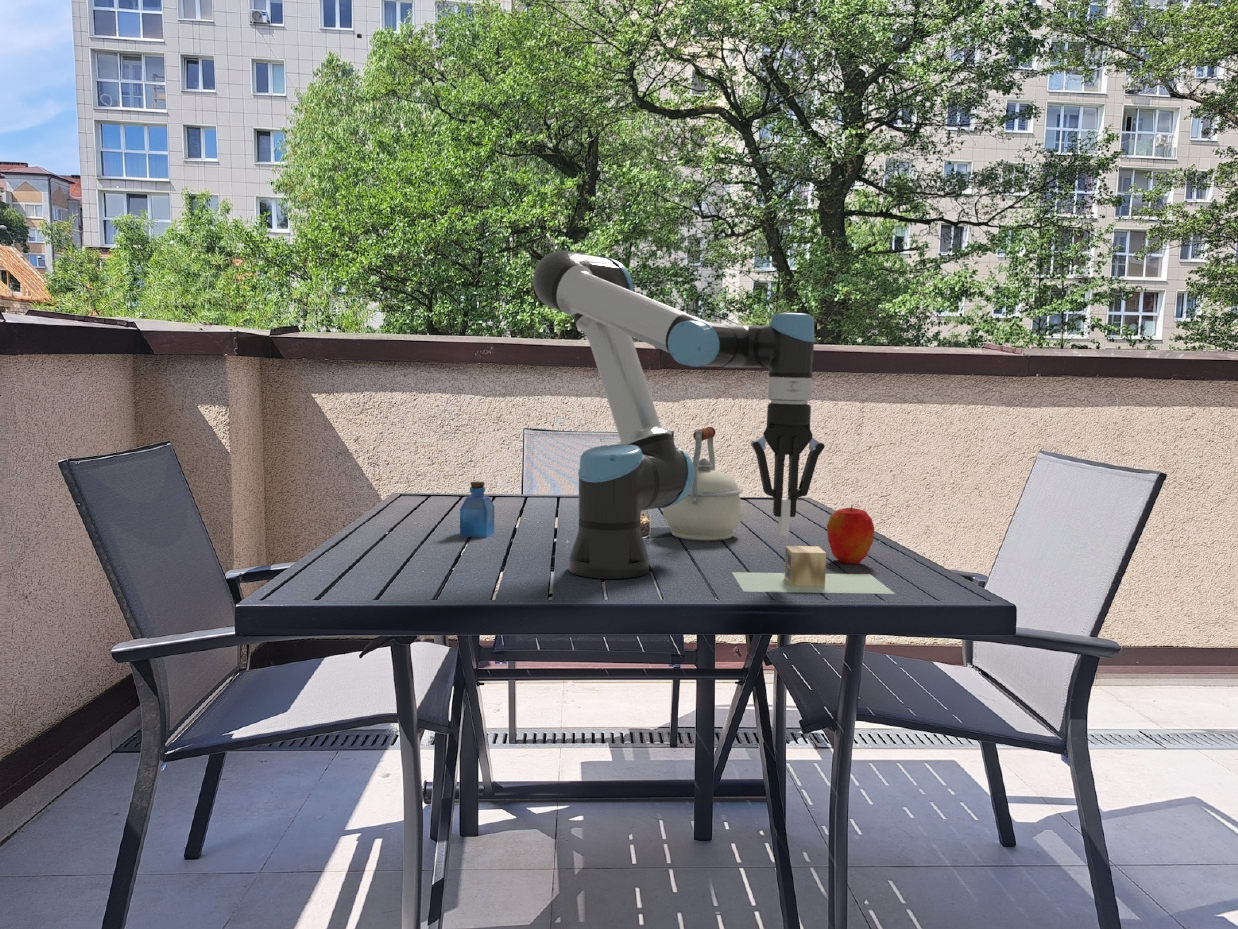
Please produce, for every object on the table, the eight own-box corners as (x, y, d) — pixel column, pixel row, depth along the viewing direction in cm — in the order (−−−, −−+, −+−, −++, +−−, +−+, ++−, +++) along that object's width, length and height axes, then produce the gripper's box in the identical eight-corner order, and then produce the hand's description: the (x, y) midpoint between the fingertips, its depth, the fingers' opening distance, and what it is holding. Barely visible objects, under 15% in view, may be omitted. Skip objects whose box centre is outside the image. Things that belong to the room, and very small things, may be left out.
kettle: (733, 546, 198) (737, 432, 195) (652, 540, 203) (654, 429, 200) (750, 528, 222) (753, 426, 219) (676, 523, 227) (679, 423, 224)
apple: (822, 558, 187) (824, 500, 185) (867, 559, 186) (869, 501, 185) (829, 567, 177) (832, 506, 176) (876, 569, 177) (879, 508, 175)
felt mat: (743, 593, 155) (743, 591, 155) (731, 574, 170) (731, 572, 170) (895, 596, 155) (895, 593, 155) (870, 576, 170) (870, 574, 170)
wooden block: (791, 552, 159) (826, 552, 159) (785, 545, 165) (818, 546, 165) (790, 586, 160) (824, 586, 160) (784, 578, 165) (817, 578, 166)
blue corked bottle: (468, 531, 210) (468, 480, 209) (494, 532, 209) (494, 481, 208) (460, 536, 204) (460, 483, 203) (486, 537, 203) (486, 484, 202)
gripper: (755, 402, 155) (750, 538, 158) (831, 404, 156) (824, 539, 158) (748, 400, 163) (743, 530, 165) (821, 402, 163) (814, 531, 166)
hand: (783, 534), depth 162 cm, fingers closed
